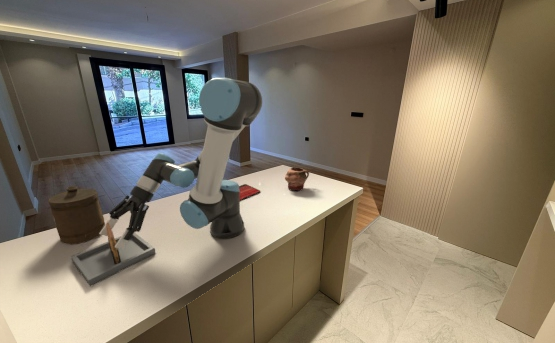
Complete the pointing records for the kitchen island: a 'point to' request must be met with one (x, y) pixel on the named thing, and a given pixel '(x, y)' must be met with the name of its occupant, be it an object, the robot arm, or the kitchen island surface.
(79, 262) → the tray
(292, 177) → the brown ceramic jug
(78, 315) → the kitchen island surface
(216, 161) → the robot arm
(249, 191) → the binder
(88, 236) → the wooden container
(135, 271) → the kitchen island surface
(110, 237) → the ammunition clip
